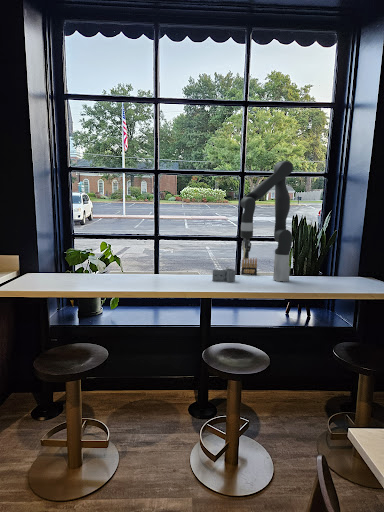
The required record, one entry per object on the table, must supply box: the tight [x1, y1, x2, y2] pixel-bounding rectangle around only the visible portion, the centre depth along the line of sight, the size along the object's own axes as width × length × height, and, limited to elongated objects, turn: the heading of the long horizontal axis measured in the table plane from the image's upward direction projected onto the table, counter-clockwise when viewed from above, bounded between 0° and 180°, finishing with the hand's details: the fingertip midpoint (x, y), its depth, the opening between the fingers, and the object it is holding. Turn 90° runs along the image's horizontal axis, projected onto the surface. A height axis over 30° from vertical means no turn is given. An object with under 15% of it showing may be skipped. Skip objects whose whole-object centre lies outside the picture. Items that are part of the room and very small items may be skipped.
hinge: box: [212, 266, 236, 283], centre depth 224 cm, size 14×14×7 cm
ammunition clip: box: [240, 257, 258, 276], centre depth 241 cm, size 11×2×12 cm, turn 89°
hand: (245, 257), depth 217 cm, fingers closed on hinge pin, 3 cm apart
